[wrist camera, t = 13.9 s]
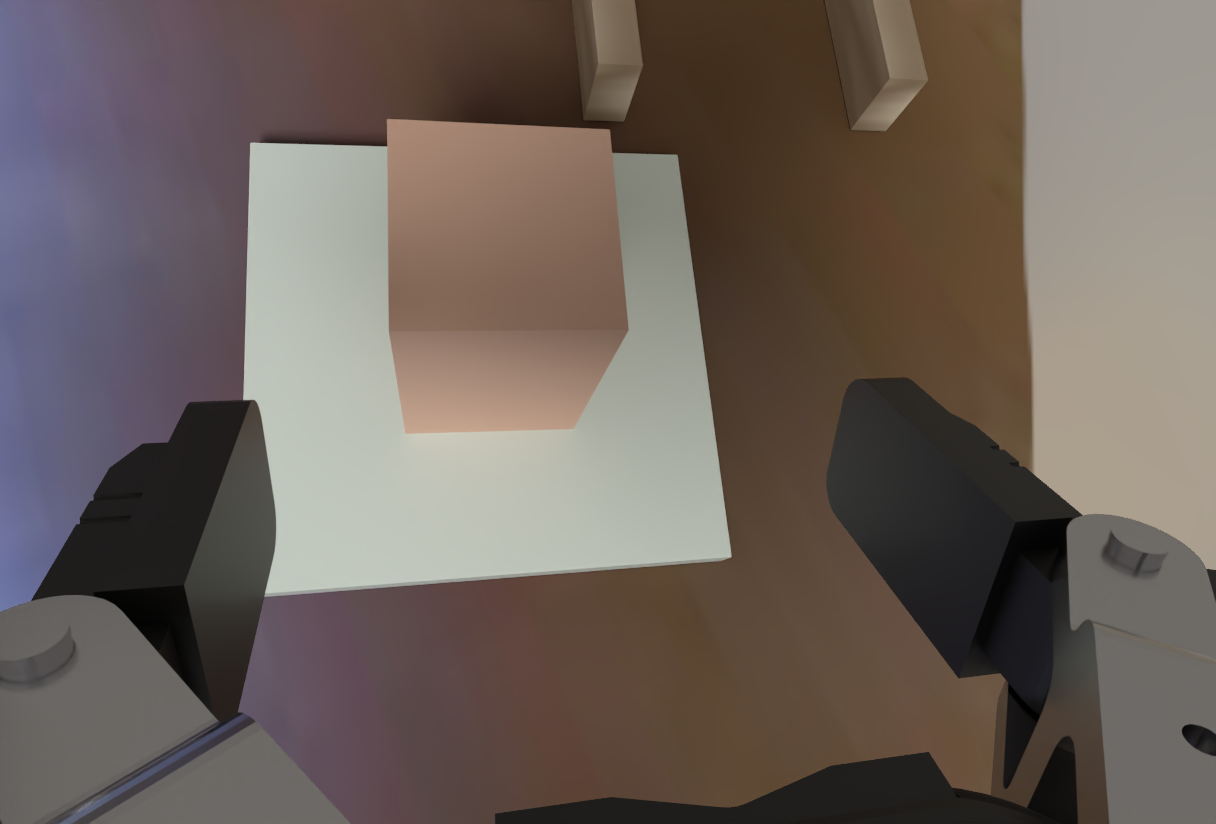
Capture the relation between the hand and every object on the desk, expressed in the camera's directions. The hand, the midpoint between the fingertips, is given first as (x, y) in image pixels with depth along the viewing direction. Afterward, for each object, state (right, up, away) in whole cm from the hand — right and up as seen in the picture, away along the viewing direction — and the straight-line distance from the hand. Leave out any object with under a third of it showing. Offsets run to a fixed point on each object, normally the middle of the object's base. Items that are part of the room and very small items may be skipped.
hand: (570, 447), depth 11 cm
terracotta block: (-3, +2, +14) cm, 15 cm away
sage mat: (-3, +2, +15) cm, 16 cm away
